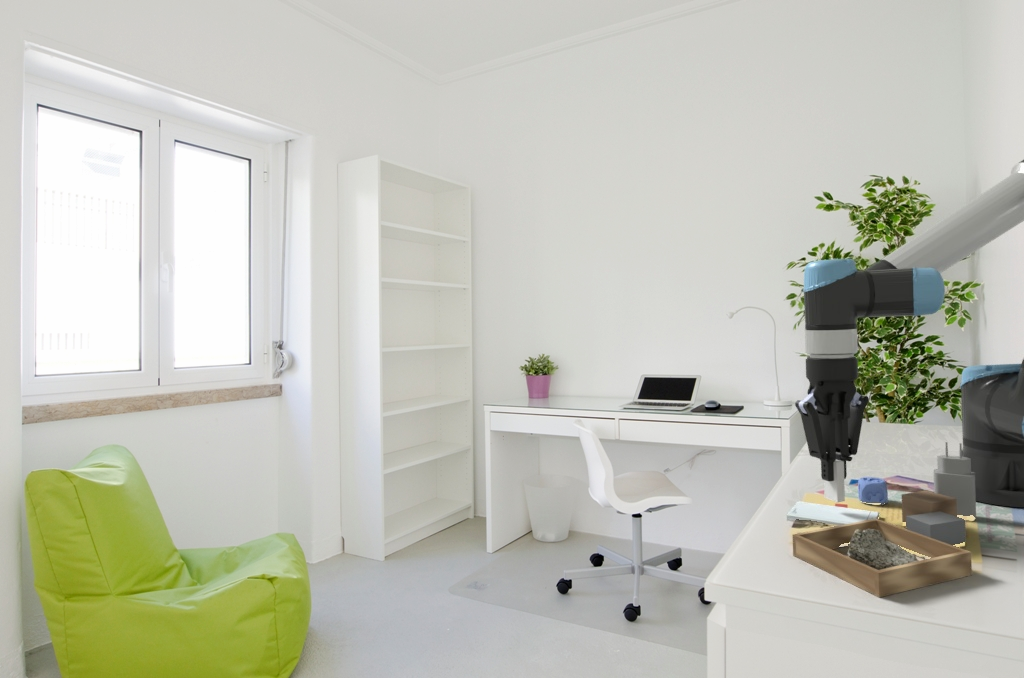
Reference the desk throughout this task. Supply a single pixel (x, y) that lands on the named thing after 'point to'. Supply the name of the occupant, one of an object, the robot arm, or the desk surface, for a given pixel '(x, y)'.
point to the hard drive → (829, 514)
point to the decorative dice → (872, 490)
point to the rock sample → (877, 550)
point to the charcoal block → (938, 526)
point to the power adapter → (956, 481)
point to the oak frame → (888, 581)
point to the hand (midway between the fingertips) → (834, 499)
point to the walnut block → (927, 504)
